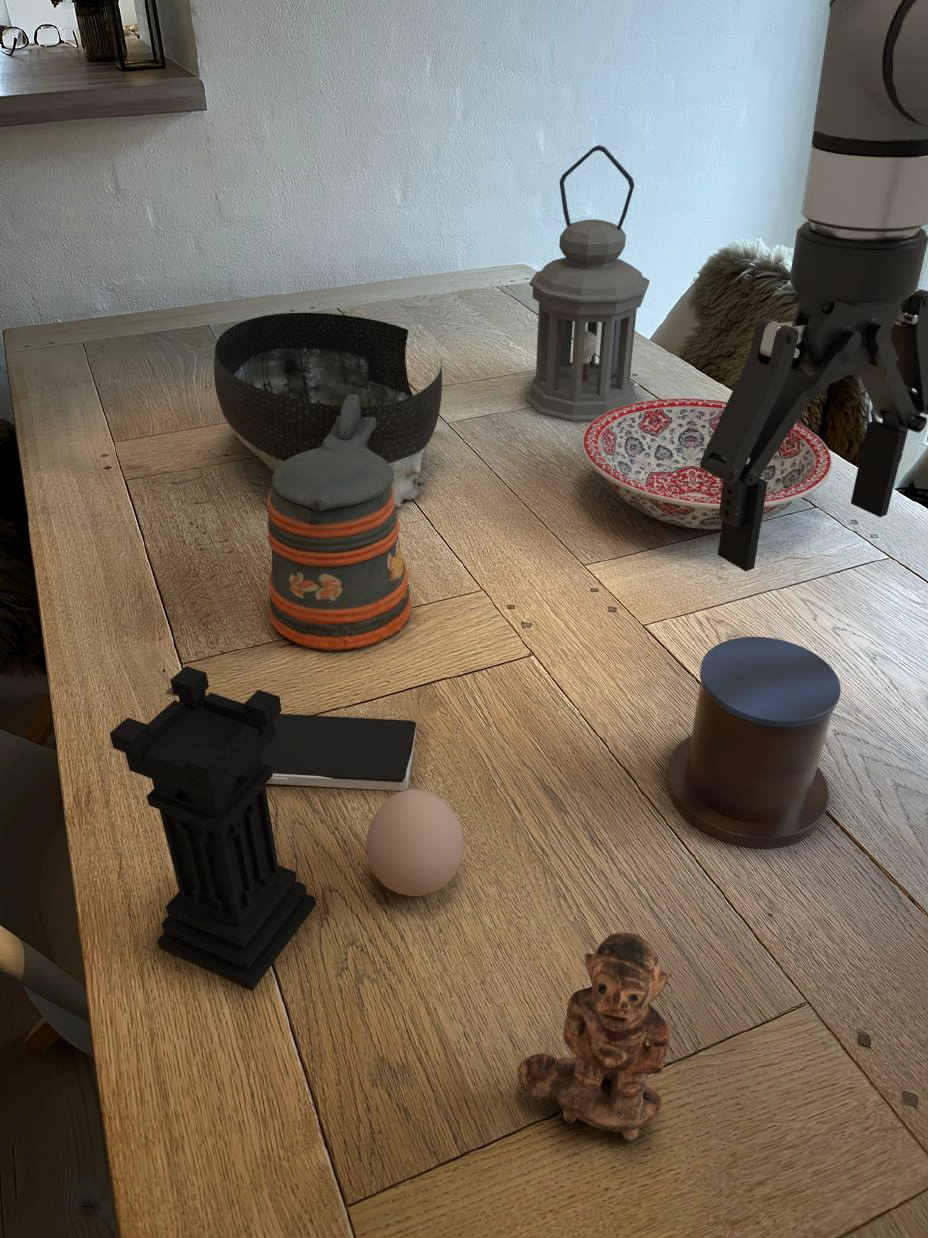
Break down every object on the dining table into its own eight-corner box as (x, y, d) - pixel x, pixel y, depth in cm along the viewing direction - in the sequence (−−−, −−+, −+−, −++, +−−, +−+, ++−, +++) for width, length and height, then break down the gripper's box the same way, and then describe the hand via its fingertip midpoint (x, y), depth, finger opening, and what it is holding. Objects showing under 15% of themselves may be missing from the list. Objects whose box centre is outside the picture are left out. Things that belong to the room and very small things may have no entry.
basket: (424, 404, 149) (422, 295, 140) (458, 519, 121) (457, 392, 111) (231, 416, 146) (214, 304, 136) (218, 537, 117) (197, 407, 108)
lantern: (635, 380, 157) (660, 135, 137) (640, 424, 143) (668, 159, 123) (528, 376, 158) (537, 132, 138) (523, 419, 145) (532, 157, 124)
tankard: (294, 551, 115) (275, 385, 103) (421, 555, 114) (416, 388, 103) (256, 650, 99) (229, 468, 88) (403, 655, 99) (395, 472, 87)
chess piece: (158, 948, 71) (99, 735, 59) (227, 868, 77) (185, 660, 65) (252, 990, 68) (209, 776, 57) (316, 904, 74) (288, 694, 62)
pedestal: (860, 808, 82) (896, 694, 75) (743, 873, 76) (771, 756, 69) (745, 718, 91) (768, 610, 84) (633, 771, 85) (648, 659, 78)
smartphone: (406, 783, 83) (227, 773, 83) (407, 794, 83) (229, 784, 84) (416, 719, 89) (250, 710, 90) (416, 729, 90) (251, 721, 91)
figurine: (508, 1091, 62) (516, 937, 54) (595, 1040, 65) (615, 887, 56) (572, 1189, 57) (592, 1037, 49) (663, 1130, 60) (696, 977, 52)
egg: (363, 916, 73) (356, 837, 68) (375, 841, 79) (369, 764, 74) (461, 920, 73) (461, 841, 68) (466, 845, 79) (466, 767, 74)
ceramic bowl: (806, 462, 133) (818, 406, 129) (832, 579, 110) (848, 515, 105) (586, 446, 137) (590, 390, 133) (567, 555, 114) (571, 493, 109)
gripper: (942, 187, 68) (877, 471, 80) (663, 243, 57) (636, 562, 69) (1046, 206, 63) (960, 508, 75) (760, 272, 52) (713, 612, 64)
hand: (804, 534), depth 72 cm, fingers open, 13 cm apart
